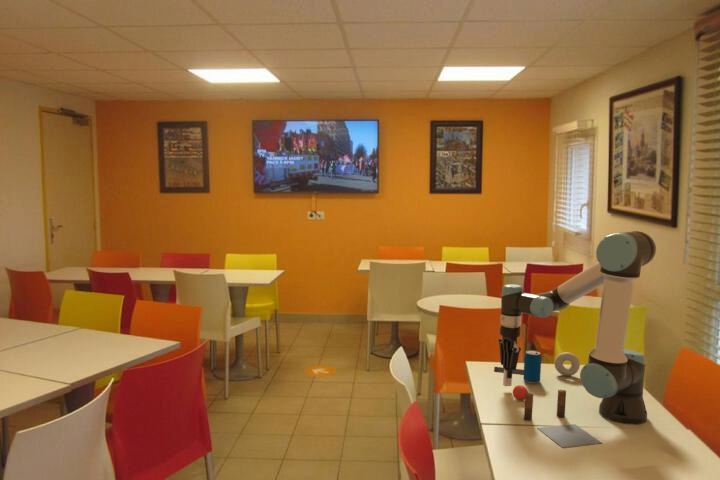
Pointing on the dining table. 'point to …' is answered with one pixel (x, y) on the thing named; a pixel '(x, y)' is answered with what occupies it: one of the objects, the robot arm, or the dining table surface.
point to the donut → (570, 357)
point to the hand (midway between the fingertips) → (507, 385)
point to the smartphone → (517, 371)
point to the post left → (528, 406)
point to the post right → (561, 403)
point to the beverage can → (532, 366)
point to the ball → (519, 392)
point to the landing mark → (569, 436)
